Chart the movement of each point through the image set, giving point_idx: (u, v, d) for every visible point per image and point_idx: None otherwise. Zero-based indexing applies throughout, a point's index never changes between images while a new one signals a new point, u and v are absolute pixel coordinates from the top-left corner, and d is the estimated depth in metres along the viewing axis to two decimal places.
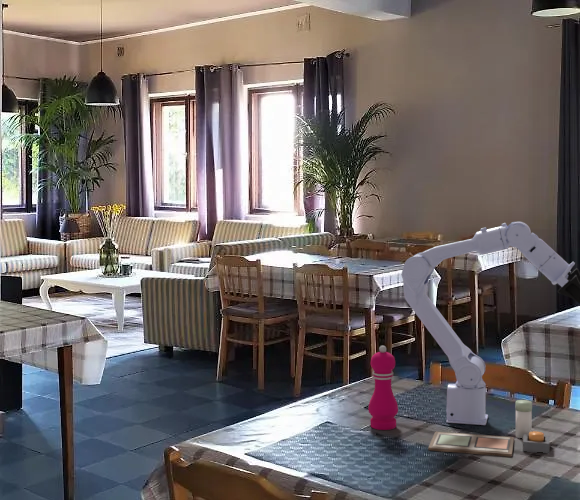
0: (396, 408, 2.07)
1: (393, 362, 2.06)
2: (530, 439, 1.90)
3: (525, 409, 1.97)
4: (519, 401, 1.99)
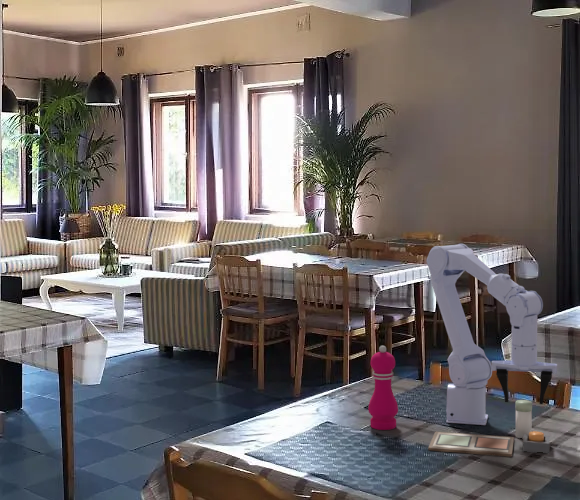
0: (396, 408, 2.07)
1: (393, 362, 2.06)
2: (530, 439, 1.90)
3: (525, 409, 1.97)
4: (519, 401, 1.99)
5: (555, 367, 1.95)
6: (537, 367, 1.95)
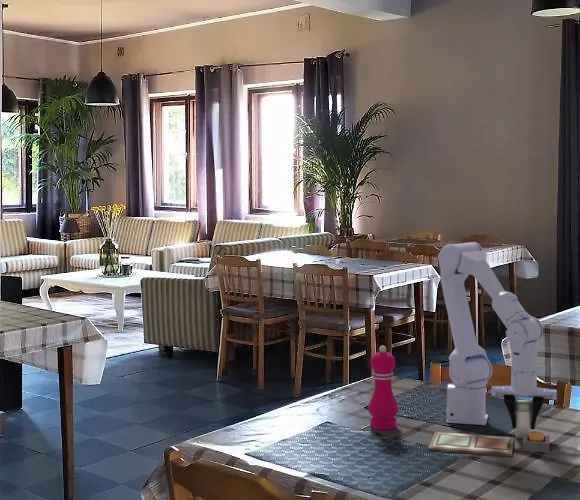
0: (396, 408, 2.07)
1: (393, 362, 2.06)
2: (530, 439, 1.90)
3: (525, 409, 1.97)
4: (519, 401, 1.99)
5: (555, 393, 1.95)
6: (537, 393, 1.95)
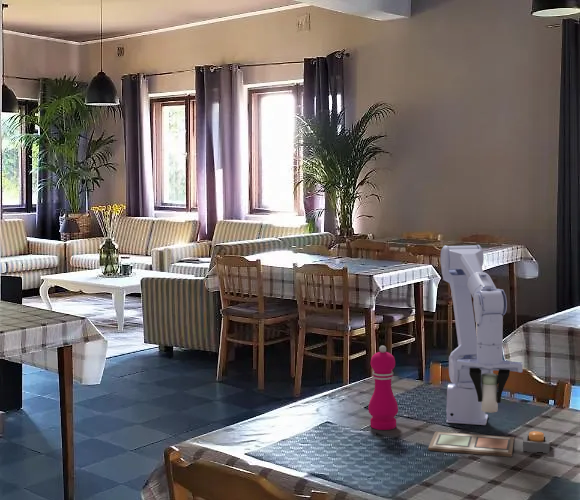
0: (396, 408, 2.07)
1: (393, 362, 2.06)
2: (530, 439, 1.90)
3: (490, 382, 1.94)
4: (485, 374, 1.96)
5: (520, 366, 1.93)
6: (502, 366, 1.92)
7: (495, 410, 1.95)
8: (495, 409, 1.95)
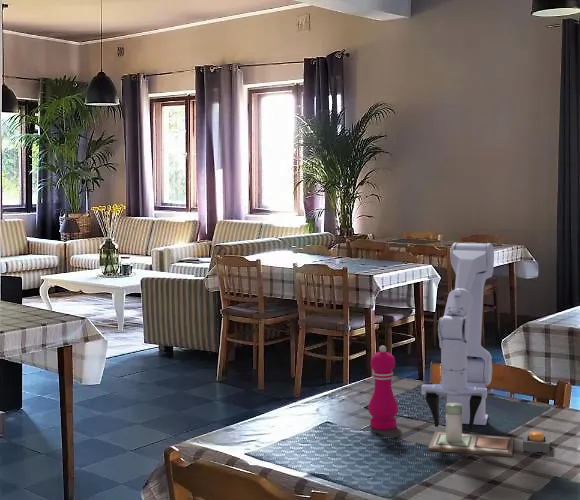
0: (396, 408, 2.07)
1: (393, 362, 2.06)
2: (530, 439, 1.90)
3: (454, 412, 1.93)
4: (449, 404, 1.95)
5: (484, 392, 1.91)
6: (466, 392, 1.91)
7: (459, 440, 1.93)
8: (459, 439, 1.93)
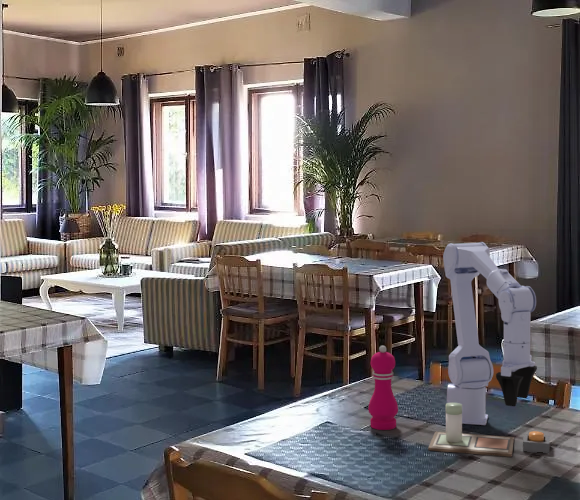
0: (396, 408, 2.07)
1: (393, 362, 2.06)
2: (530, 439, 1.90)
3: (454, 412, 1.93)
4: (449, 404, 1.95)
5: (531, 357, 1.95)
6: None
7: (459, 440, 1.93)
8: (459, 439, 1.93)
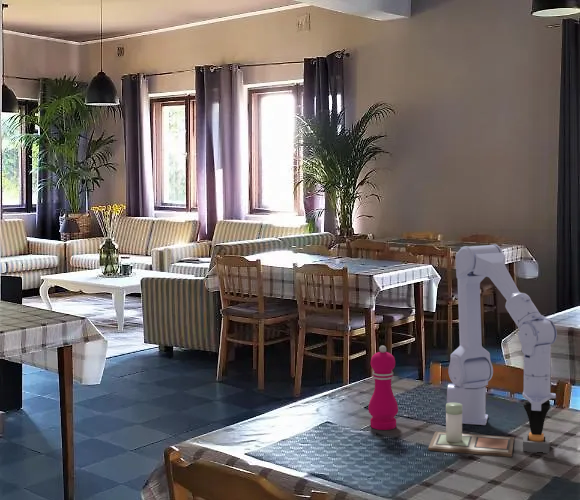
0: (396, 408, 2.07)
1: (393, 362, 2.06)
2: (530, 439, 1.90)
3: (454, 412, 1.93)
4: (450, 403, 1.95)
5: None
6: None
7: (459, 440, 1.93)
8: (459, 439, 1.93)
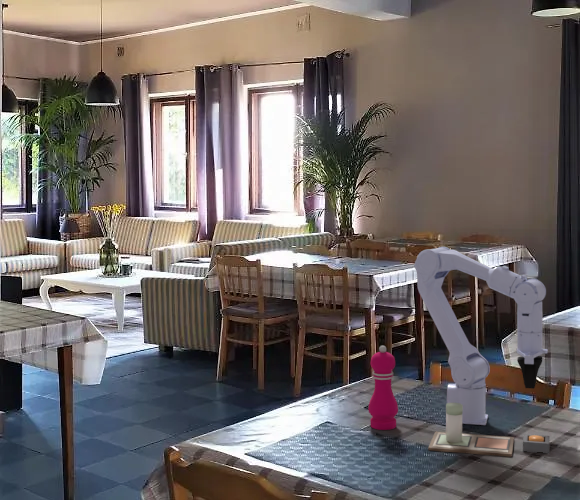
0: (396, 408, 2.07)
1: (393, 362, 2.06)
2: None
3: (454, 412, 1.92)
4: (450, 404, 1.95)
5: None
6: None
7: (459, 440, 1.93)
8: (459, 439, 1.93)
